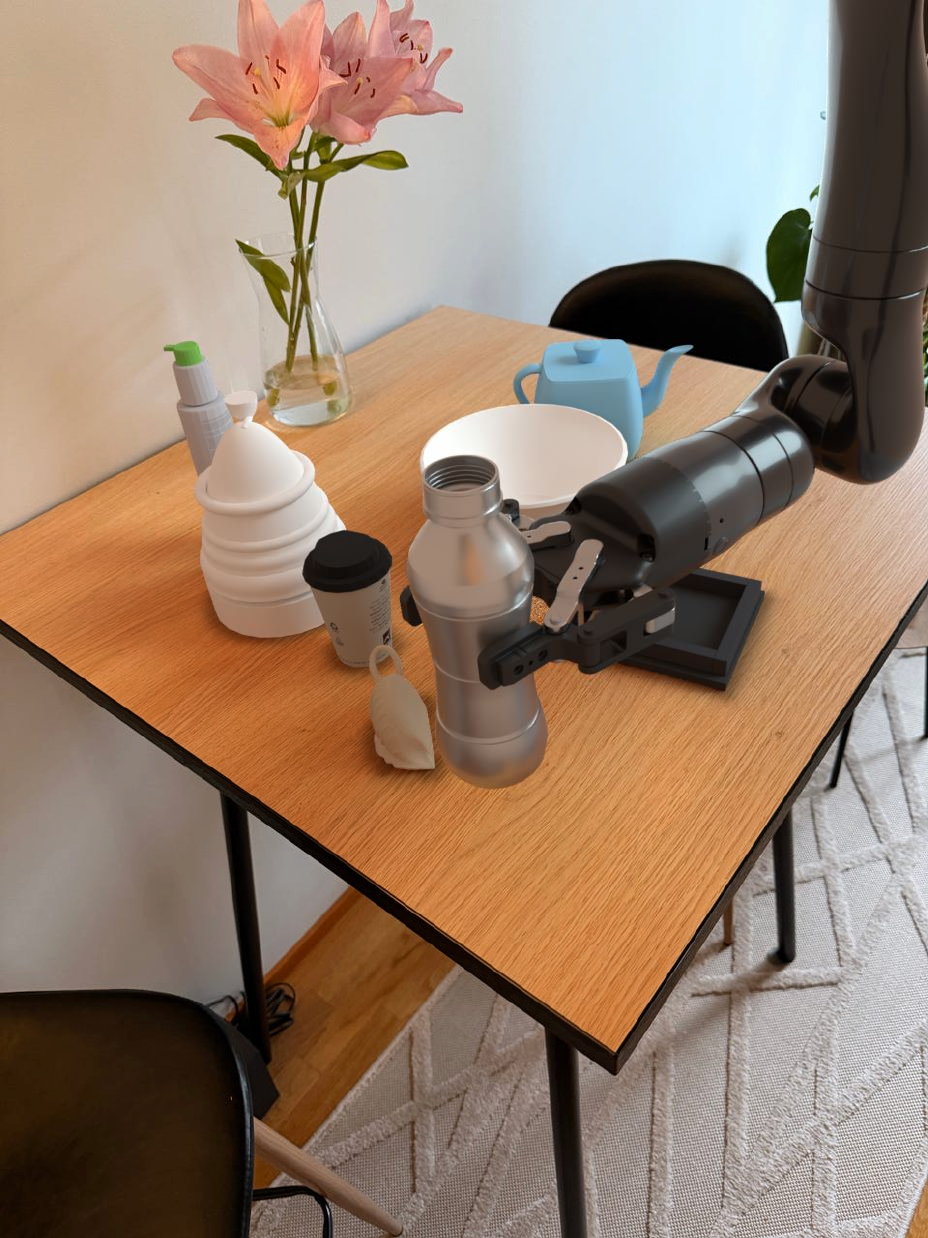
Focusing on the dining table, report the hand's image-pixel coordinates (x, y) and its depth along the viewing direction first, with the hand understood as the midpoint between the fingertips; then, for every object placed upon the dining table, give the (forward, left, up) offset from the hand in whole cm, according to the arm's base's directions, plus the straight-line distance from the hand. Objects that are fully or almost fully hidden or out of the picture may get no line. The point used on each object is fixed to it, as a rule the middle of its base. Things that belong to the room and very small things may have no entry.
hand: (442, 640), depth 47 cm
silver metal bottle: (-1, -2, -11) cm, 11 cm away
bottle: (+37, -23, -18) cm, 47 cm away
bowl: (+12, -35, -18) cm, 41 cm away
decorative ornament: (+9, -7, -18) cm, 21 cm away
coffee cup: (+17, -14, -18) cm, 29 cm away
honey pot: (+28, -18, -18) cm, 38 cm away
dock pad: (-5, -26, -18) cm, 32 cm away
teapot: (+11, -52, -18) cm, 56 cm away
